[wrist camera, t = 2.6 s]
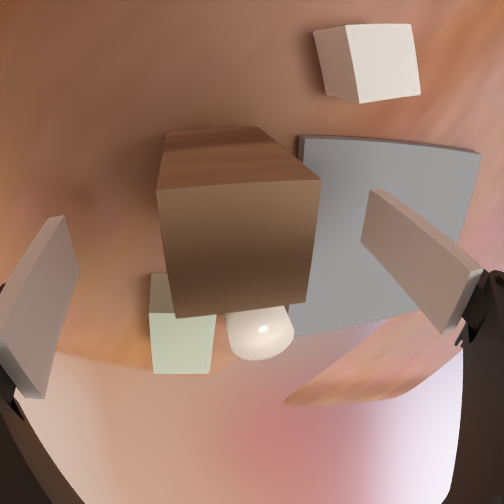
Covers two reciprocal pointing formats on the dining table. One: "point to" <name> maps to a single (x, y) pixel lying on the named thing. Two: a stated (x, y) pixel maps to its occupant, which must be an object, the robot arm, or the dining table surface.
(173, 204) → the walnut block
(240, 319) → the cream cylinder
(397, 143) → the grey mat
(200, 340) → the sage block
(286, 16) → the dining table surface
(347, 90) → the white cube
